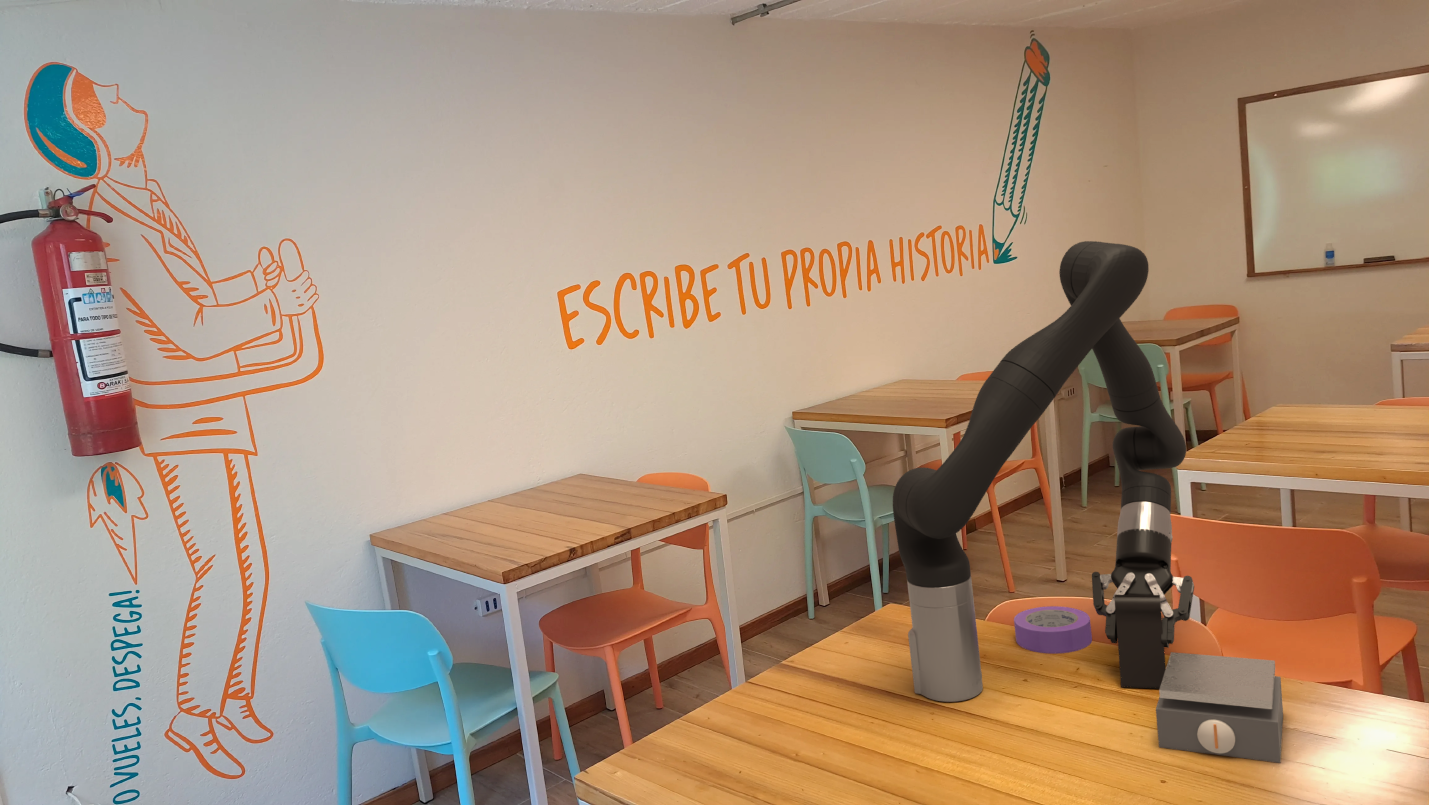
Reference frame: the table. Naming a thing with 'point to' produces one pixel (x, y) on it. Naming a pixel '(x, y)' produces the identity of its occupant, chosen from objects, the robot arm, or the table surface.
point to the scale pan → (1219, 680)
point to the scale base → (1222, 727)
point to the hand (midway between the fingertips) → (1139, 643)
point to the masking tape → (1053, 629)
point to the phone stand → (1140, 640)
